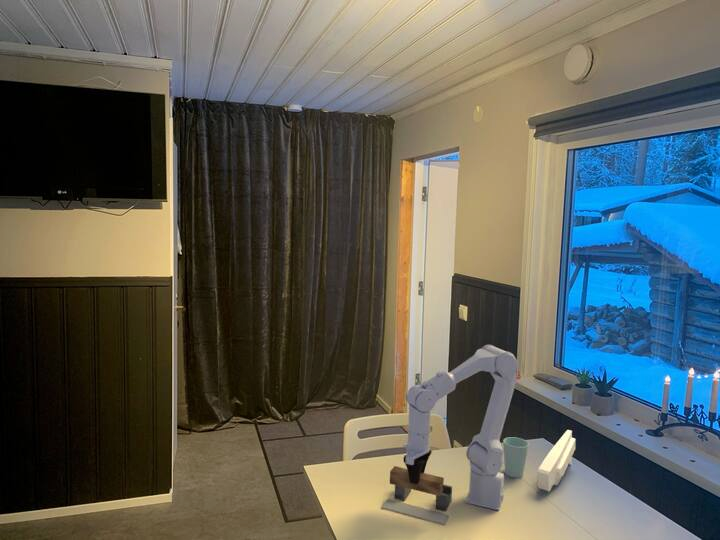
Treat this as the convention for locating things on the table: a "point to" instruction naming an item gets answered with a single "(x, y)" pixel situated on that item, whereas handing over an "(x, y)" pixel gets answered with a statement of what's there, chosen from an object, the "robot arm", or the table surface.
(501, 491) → the robot arm
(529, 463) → the table surface
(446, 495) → the post
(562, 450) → the shelf bracket
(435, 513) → the mat
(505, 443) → the cup
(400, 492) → the post
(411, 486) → the rail
